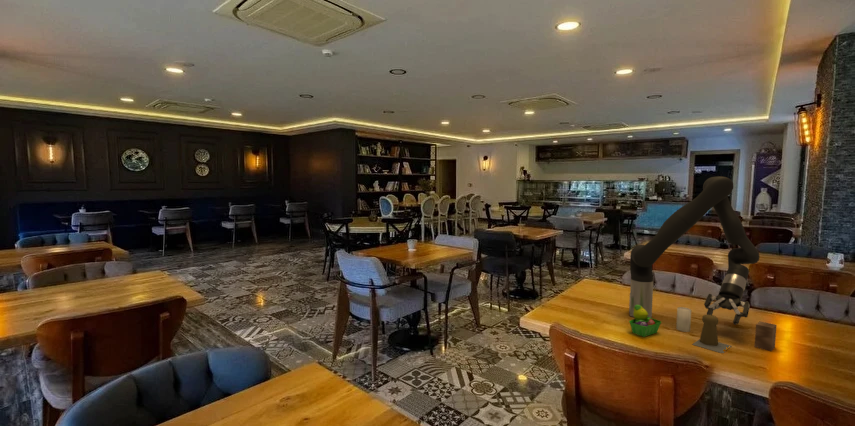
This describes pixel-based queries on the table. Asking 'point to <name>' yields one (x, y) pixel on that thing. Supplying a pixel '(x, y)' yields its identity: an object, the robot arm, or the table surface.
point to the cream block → (683, 319)
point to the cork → (709, 330)
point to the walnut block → (765, 336)
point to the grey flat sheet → (718, 348)
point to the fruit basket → (643, 322)
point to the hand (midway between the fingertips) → (721, 320)
